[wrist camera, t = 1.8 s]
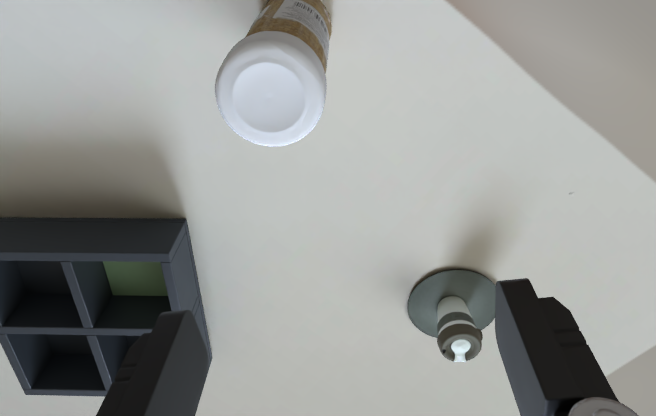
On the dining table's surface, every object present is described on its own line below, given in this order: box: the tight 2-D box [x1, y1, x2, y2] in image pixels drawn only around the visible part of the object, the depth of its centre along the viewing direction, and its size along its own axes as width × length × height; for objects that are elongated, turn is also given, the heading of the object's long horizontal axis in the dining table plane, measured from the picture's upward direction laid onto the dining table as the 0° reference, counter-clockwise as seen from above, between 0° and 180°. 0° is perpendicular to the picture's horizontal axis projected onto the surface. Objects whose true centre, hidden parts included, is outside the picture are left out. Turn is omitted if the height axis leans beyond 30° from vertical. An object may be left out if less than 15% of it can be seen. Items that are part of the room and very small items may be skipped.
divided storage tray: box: [0, 218, 212, 396], centre depth 42 cm, size 15×15×5 cm
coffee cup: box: [408, 270, 496, 362], centre depth 42 cm, size 12×12×5 cm
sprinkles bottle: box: [215, 0, 331, 147], centre depth 27 cm, size 5×5×13 cm
